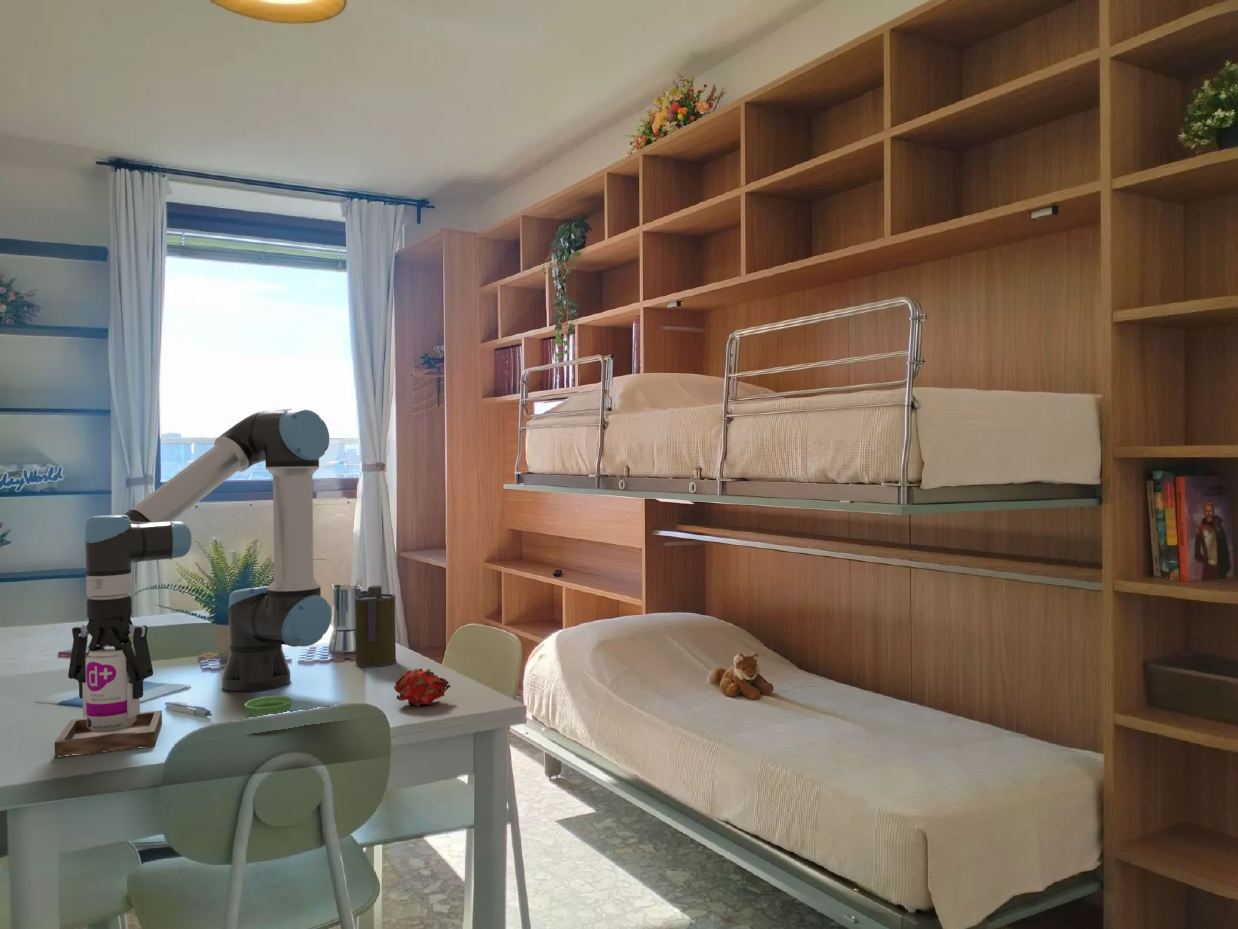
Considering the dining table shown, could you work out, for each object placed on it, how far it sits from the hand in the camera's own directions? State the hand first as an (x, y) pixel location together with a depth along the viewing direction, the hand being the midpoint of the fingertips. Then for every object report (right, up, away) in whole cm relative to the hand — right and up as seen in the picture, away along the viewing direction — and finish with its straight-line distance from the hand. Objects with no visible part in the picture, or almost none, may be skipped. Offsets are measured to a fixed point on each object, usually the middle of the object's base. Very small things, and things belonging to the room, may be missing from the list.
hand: (111, 715), depth 175 cm
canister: (+34, -4, +64) cm, 72 cm away
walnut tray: (0, -5, 0) cm, 5 cm away
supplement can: (0, -2, 0) cm, 2 cm away
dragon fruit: (+54, -4, +23) cm, 59 cm away
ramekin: (+26, -5, +10) cm, 28 cm away
